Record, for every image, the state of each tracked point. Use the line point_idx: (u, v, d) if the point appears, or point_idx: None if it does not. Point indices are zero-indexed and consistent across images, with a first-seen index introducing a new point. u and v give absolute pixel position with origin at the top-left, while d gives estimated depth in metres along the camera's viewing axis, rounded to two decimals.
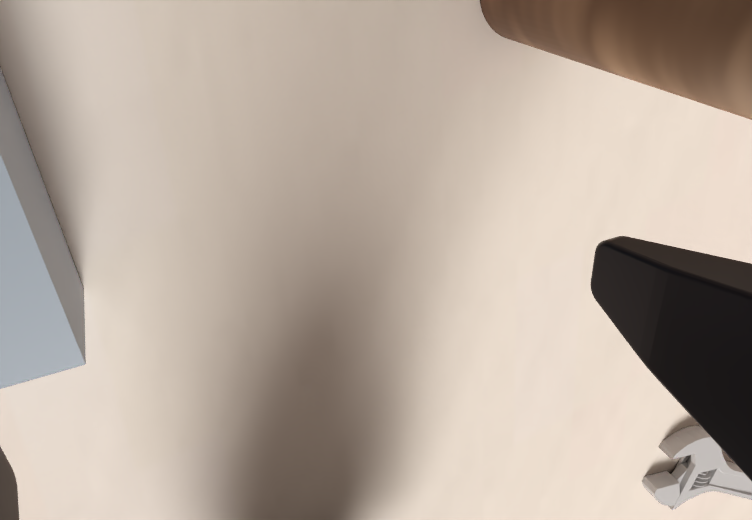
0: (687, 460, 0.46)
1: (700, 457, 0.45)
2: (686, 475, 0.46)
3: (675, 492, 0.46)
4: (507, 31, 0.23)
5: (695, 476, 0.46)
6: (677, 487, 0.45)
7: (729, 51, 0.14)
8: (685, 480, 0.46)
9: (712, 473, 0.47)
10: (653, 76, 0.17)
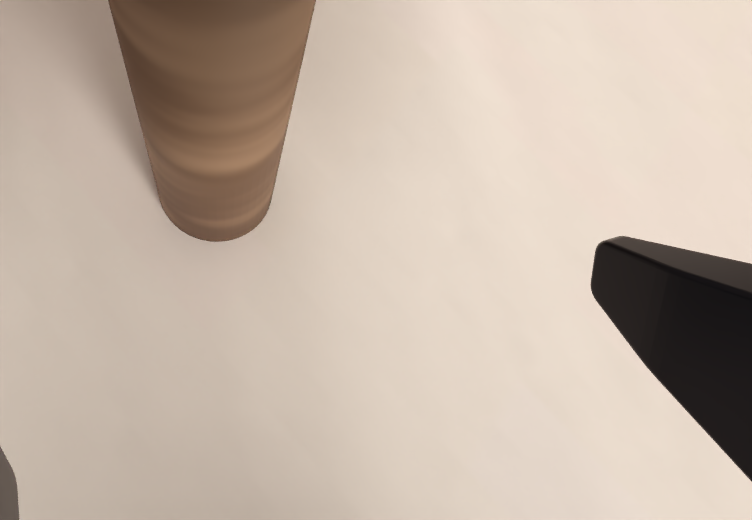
0: None
1: None
2: None
3: None
4: (203, 229, 0.21)
5: None
6: None
7: (129, 41, 0.12)
8: None
9: None
10: (194, 135, 0.14)
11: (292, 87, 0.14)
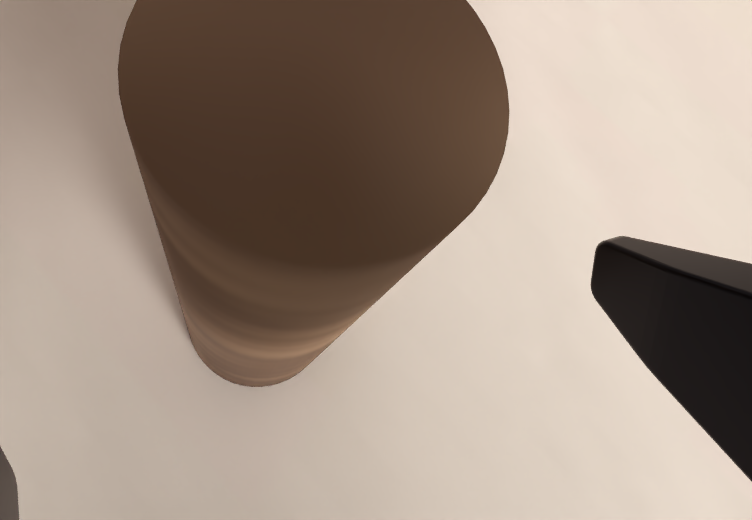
0: None
1: None
2: None
3: None
4: (247, 382, 0.17)
5: None
6: None
7: (179, 254, 0.08)
8: None
9: None
10: (260, 340, 0.10)
11: None
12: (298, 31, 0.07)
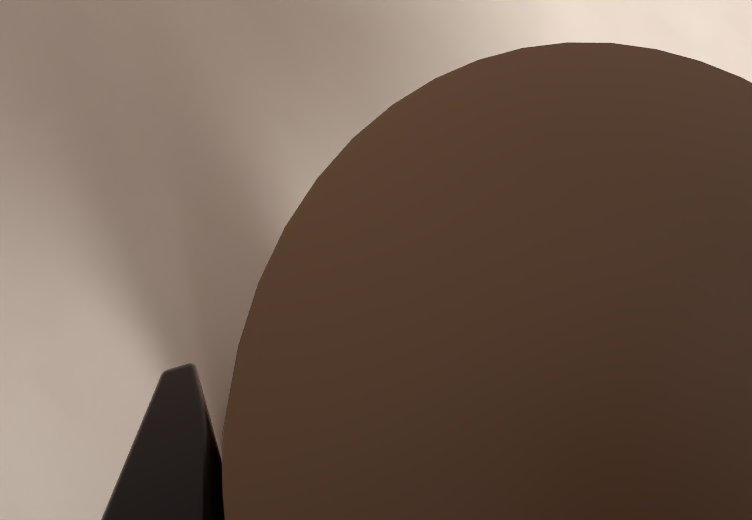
0: None
1: None
2: None
3: None
4: None
5: None
6: None
7: None
8: None
9: None
10: None
11: None
12: (615, 322, 0.03)
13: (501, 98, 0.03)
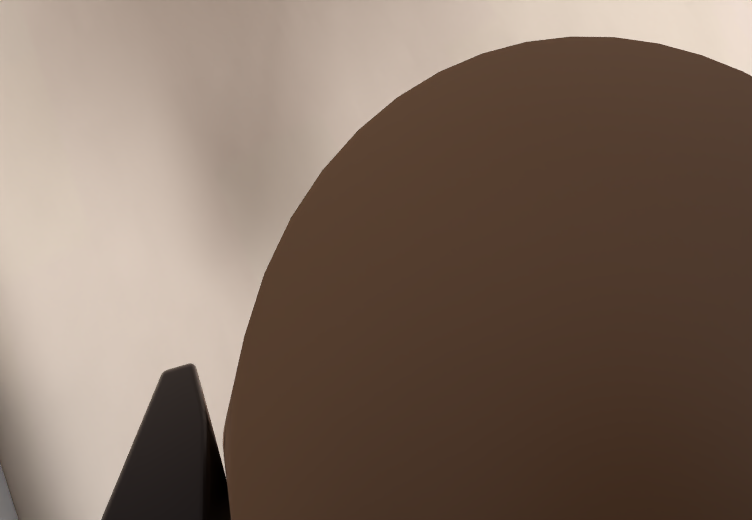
0: None
1: None
2: None
3: None
4: None
5: None
6: None
7: None
8: None
9: None
10: None
11: None
12: (619, 313, 0.03)
13: (506, 91, 0.03)
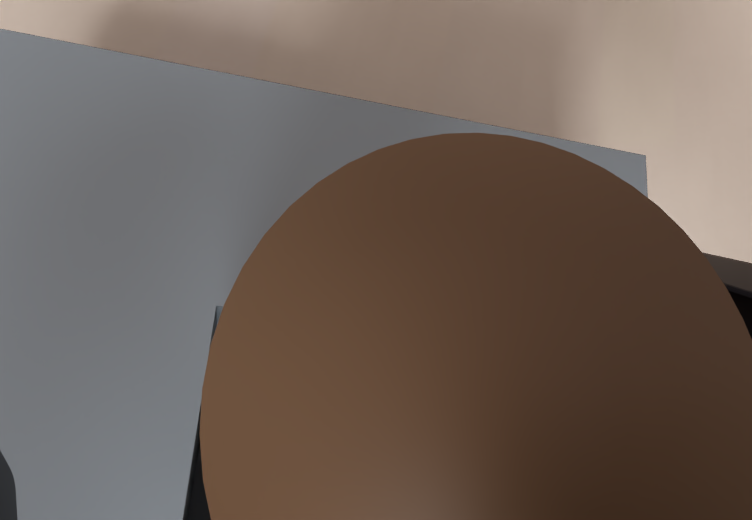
0: None
1: None
2: None
3: None
4: None
5: None
6: None
7: None
8: None
9: None
10: None
11: None
12: (465, 327, 0.04)
13: (394, 175, 0.04)
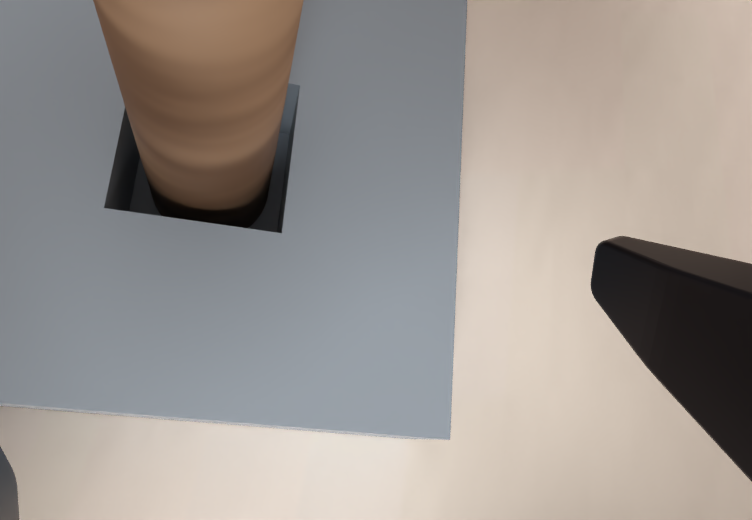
0: None
1: None
2: None
3: None
4: None
5: None
6: None
7: (109, 21, 0.11)
8: None
9: None
10: (183, 125, 0.14)
11: (285, 72, 0.14)
12: None
13: None
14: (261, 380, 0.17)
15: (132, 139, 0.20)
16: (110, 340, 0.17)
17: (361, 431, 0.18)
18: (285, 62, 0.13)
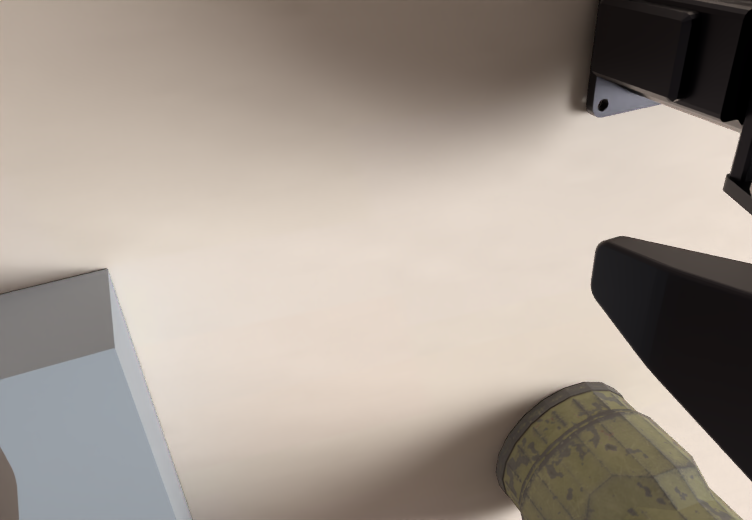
0: None
1: None
2: None
3: None
4: None
5: None
6: None
7: None
8: None
9: None
10: None
11: None
12: None
13: None
14: (125, 494, 0.20)
15: None
16: None
17: (138, 415, 0.19)
18: None
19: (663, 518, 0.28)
